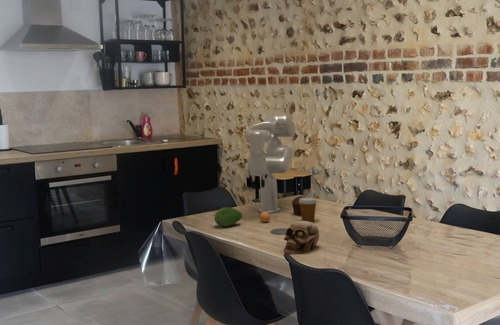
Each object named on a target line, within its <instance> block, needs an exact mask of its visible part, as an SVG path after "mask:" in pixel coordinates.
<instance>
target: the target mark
mask: <svg viewBox="0 0 500 325" xmlns="http://www.w3.org/2000/svg"><path fill="white" fill-rule="evenodd" d="M287 229H288V228H284V227H283V228H274V229H271V230H270V231H269V233H270V234H272V235H279V236H281V235H285V236H286V232H287Z"/></svg>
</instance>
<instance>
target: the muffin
mask: <svg viewBox="0 0 500 325" xmlns="http://www.w3.org/2000/svg"><path fill="white" fill-rule="evenodd" d="M305 197H306V196H305V195H299V196H296V197H295V198H293V199H292V202H291V205H292V209H293V215H294V216H298V217H302V215H301V209H300V203H299V200H300V198H305Z"/></svg>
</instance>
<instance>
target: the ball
mask: <svg viewBox="0 0 500 325" xmlns="http://www.w3.org/2000/svg"><path fill="white" fill-rule="evenodd" d="M270 214H271V213H268V212H260V213H259V219H260V221H261V222H263V223H268V222H269V221H270V219H271V215H270Z"/></svg>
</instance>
